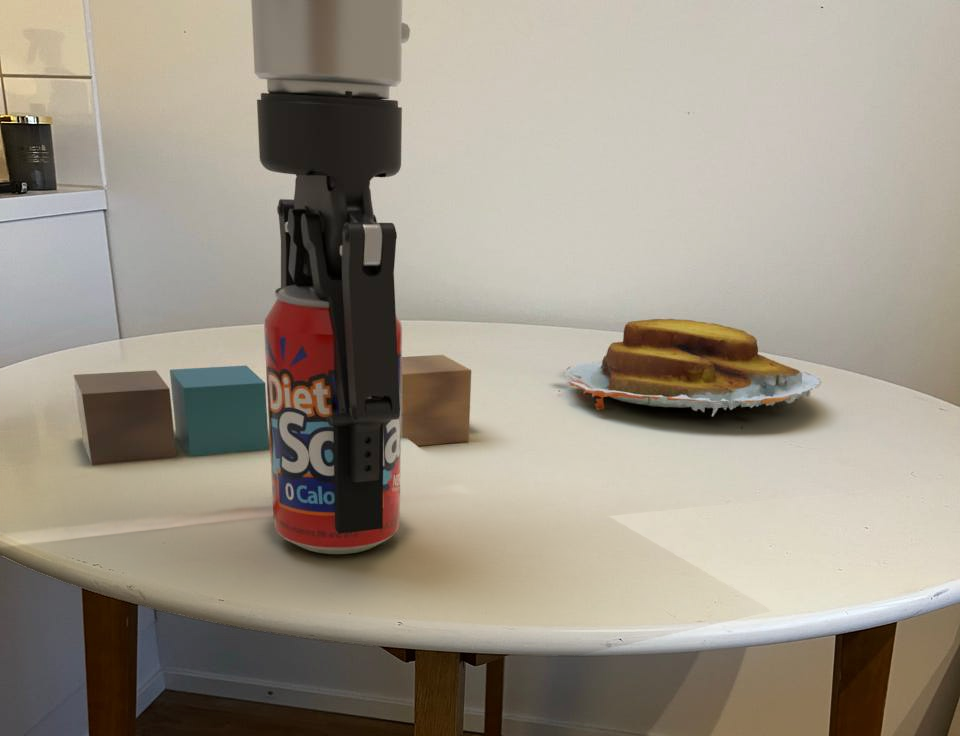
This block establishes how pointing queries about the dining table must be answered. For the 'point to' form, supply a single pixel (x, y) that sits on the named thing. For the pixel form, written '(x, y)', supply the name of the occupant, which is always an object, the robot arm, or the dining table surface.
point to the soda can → (315, 428)
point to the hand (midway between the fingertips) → (336, 504)
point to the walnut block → (125, 416)
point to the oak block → (434, 400)
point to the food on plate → (689, 369)
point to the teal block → (219, 410)
